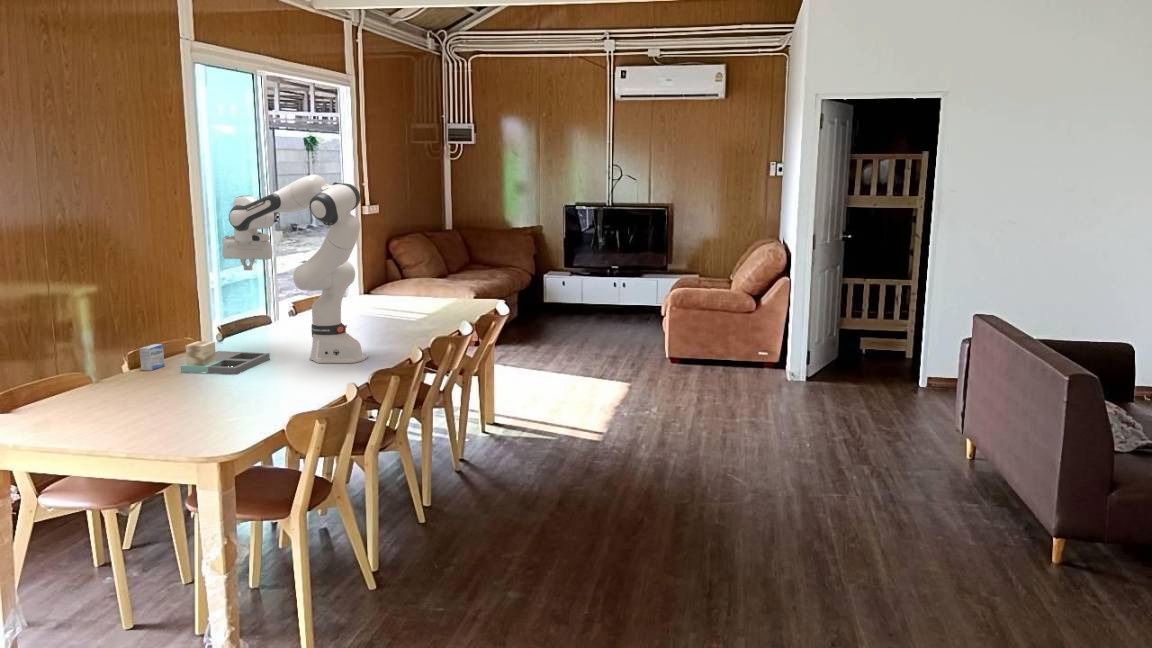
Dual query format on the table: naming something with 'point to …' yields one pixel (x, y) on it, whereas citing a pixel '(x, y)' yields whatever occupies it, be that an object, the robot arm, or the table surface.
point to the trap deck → (229, 362)
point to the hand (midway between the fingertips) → (248, 270)
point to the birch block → (200, 353)
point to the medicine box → (152, 357)
